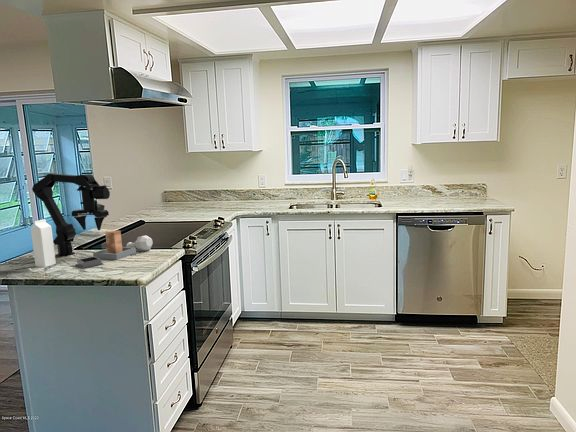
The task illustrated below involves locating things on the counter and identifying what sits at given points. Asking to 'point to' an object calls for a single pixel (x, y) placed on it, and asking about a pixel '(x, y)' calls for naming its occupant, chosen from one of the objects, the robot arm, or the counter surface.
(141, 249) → the chicken leg
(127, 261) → the counter surface
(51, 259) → the milk
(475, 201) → the counter surface
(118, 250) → the block
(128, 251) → the tray
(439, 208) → the counter surface
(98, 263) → the grey square base plate
